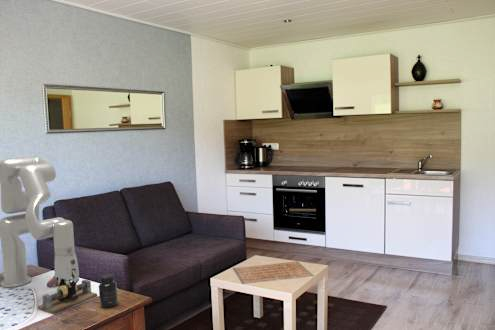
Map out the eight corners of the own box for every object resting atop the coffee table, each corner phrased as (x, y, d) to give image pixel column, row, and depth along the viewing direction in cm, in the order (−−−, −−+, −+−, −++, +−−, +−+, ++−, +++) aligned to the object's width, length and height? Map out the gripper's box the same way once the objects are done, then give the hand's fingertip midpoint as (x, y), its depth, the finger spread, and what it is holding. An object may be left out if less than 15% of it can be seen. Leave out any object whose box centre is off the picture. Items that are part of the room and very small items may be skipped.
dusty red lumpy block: (53, 290, 197) (59, 277, 196) (45, 286, 198) (50, 272, 197) (66, 282, 207) (71, 270, 206) (58, 278, 207) (63, 265, 206)
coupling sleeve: (70, 291, 183) (69, 280, 183) (78, 294, 181) (77, 282, 180) (57, 297, 178) (56, 285, 178) (64, 299, 176) (64, 287, 175)
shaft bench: (37, 308, 174) (36, 293, 174) (80, 291, 191) (79, 277, 190) (54, 314, 168) (53, 299, 168) (97, 296, 185) (96, 282, 184)
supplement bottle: (99, 303, 178) (97, 274, 177) (116, 300, 181) (115, 272, 179) (100, 309, 172) (99, 280, 170) (118, 306, 174) (117, 277, 173)
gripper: (86, 251, 176) (88, 295, 178) (60, 246, 185) (62, 287, 187) (69, 256, 170) (72, 301, 172) (43, 250, 179) (46, 293, 181)
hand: (67, 293), depth 179 cm, fingers closed on coupling sleeve, 4 cm apart
